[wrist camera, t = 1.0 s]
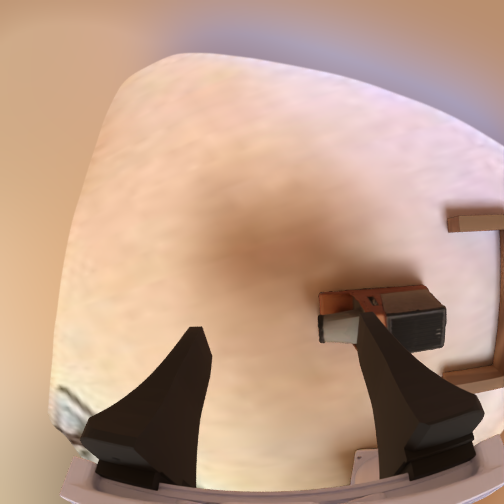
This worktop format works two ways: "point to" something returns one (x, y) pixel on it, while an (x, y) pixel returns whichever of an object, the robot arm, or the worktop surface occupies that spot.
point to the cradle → (500, 371)
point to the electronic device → (384, 315)
